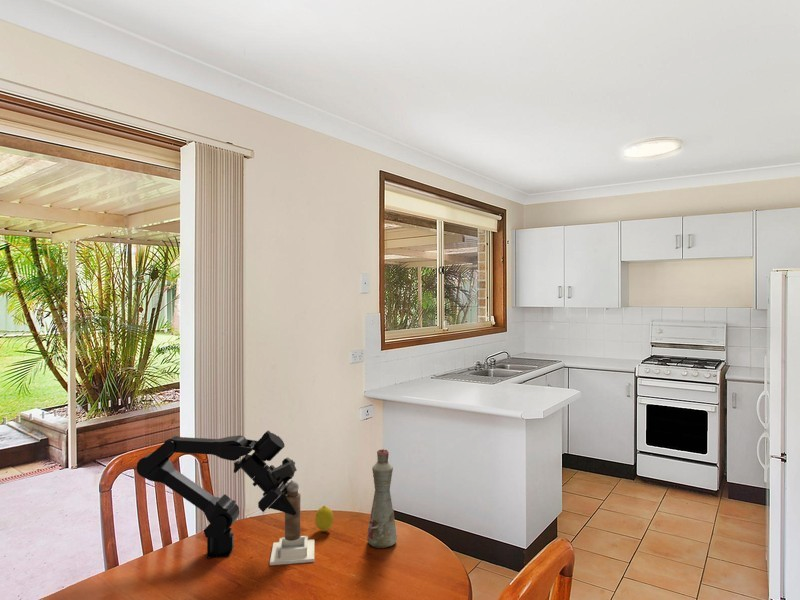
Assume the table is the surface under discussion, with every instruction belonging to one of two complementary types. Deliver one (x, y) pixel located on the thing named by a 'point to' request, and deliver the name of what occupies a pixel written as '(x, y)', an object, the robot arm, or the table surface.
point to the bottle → (382, 505)
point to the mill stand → (292, 551)
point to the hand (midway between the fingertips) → (297, 510)
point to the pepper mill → (293, 520)
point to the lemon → (324, 518)
